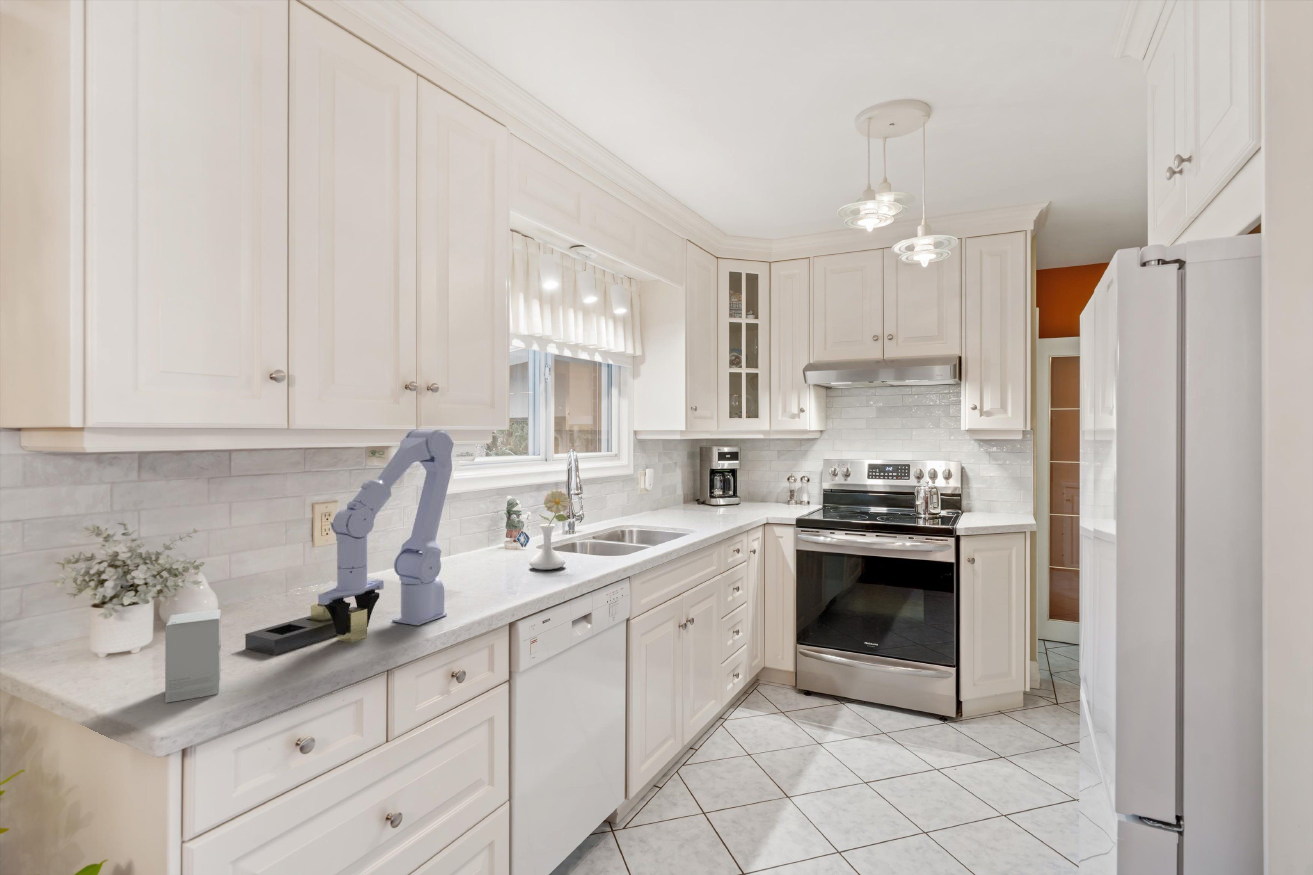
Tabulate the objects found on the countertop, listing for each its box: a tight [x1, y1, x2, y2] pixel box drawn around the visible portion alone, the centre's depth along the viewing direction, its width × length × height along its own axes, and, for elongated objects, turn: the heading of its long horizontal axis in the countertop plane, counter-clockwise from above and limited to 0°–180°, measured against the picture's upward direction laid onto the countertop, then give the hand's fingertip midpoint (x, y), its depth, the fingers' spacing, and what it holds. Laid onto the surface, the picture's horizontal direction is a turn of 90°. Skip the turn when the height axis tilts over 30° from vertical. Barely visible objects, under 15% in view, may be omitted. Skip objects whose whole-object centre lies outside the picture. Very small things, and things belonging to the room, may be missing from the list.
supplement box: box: [164, 608, 222, 703], centre depth 109 cm, size 7×7×13 cm
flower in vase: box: [528, 489, 571, 571], centre depth 206 cm, size 13×11×25 cm
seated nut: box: [310, 603, 332, 623], centre depth 141 cm, size 4×4×6 cm
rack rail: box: [244, 615, 338, 656], centre depth 137 cm, size 20×9×3 cm, turn 154°
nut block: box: [337, 606, 368, 643], centre depth 137 cm, size 4×4×6 cm
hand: (352, 630), depth 137 cm, fingers open, 5 cm apart
